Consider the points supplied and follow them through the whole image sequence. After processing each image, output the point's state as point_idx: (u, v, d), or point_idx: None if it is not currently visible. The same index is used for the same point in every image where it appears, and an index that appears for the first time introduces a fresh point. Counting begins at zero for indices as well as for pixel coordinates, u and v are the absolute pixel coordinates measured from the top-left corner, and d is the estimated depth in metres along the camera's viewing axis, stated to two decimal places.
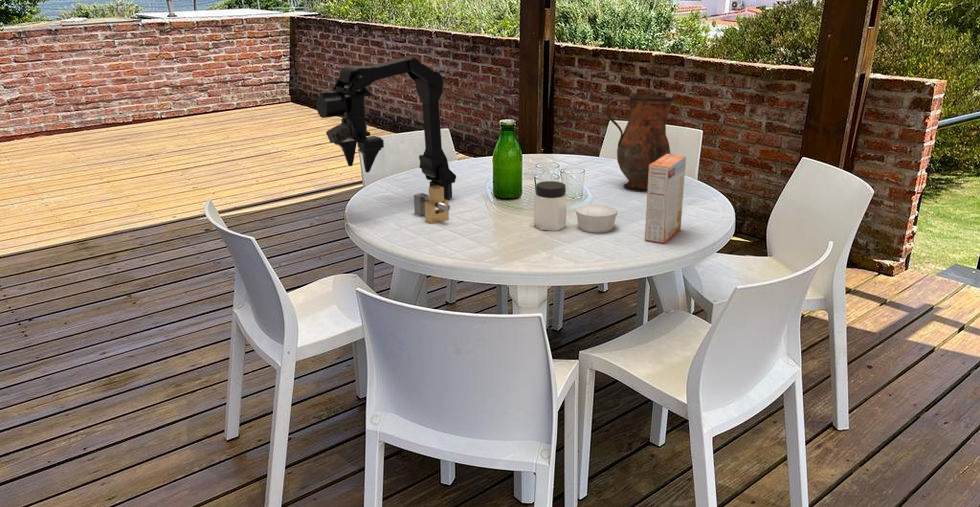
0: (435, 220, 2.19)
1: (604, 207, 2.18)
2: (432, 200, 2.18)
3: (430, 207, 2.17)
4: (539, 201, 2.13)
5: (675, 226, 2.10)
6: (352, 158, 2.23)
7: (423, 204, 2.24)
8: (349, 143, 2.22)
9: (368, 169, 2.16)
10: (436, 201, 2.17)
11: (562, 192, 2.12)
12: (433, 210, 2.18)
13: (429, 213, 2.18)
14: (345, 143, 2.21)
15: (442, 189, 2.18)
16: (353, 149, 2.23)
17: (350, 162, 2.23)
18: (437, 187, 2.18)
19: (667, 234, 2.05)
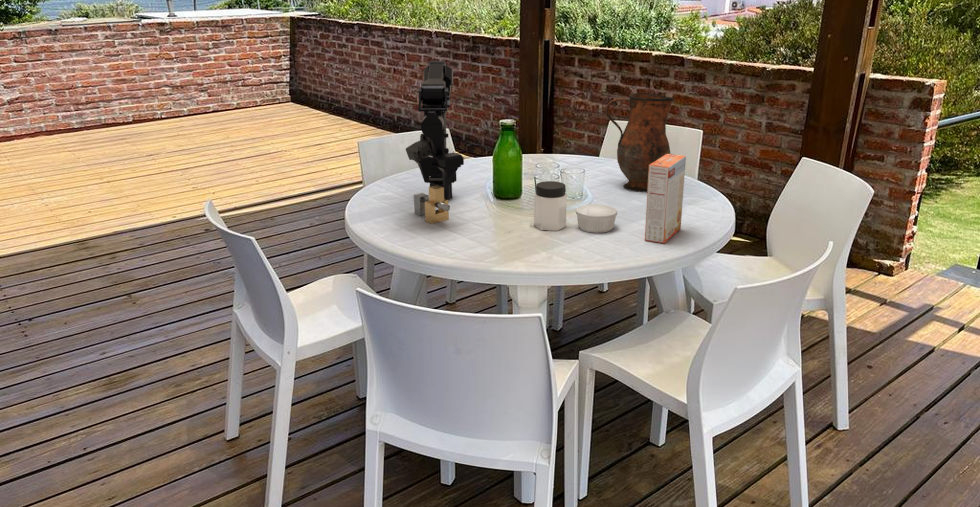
0: (435, 220, 2.19)
1: (604, 207, 2.18)
2: (432, 200, 2.18)
3: (430, 207, 2.17)
4: (539, 201, 2.13)
5: (675, 226, 2.10)
6: (428, 174, 2.21)
7: (423, 204, 2.24)
8: (425, 159, 2.19)
9: (447, 186, 2.14)
10: (436, 201, 2.17)
11: (562, 192, 2.12)
12: (433, 210, 2.18)
13: (429, 213, 2.18)
14: (422, 159, 2.19)
15: (442, 189, 2.18)
16: (429, 165, 2.21)
17: (426, 178, 2.21)
18: (437, 187, 2.18)
19: (667, 234, 2.05)
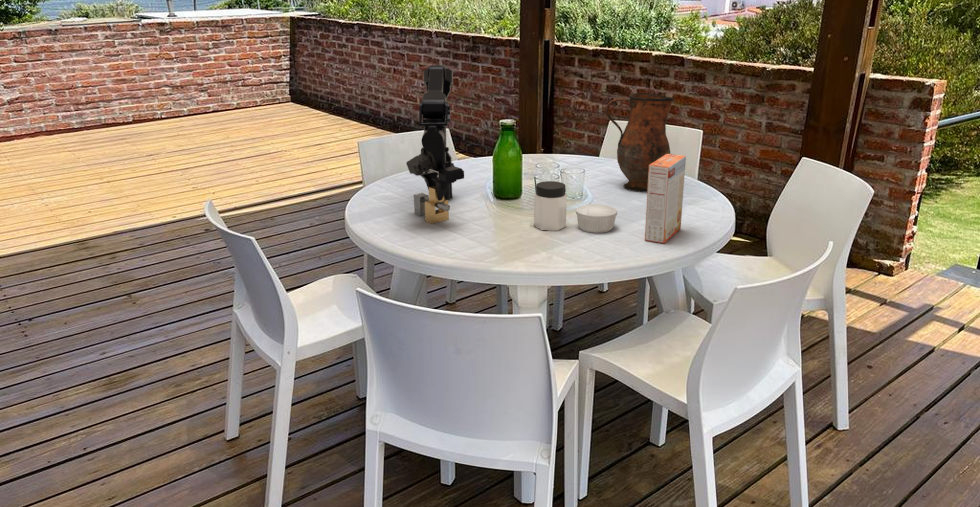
0: (435, 220, 2.19)
1: (604, 207, 2.18)
2: (432, 200, 2.18)
3: (430, 207, 2.17)
4: (539, 201, 2.13)
5: (675, 226, 2.10)
6: None
7: (423, 204, 2.24)
8: (432, 174, 2.19)
9: (441, 197, 2.17)
10: (436, 201, 2.17)
11: (562, 192, 2.12)
12: (433, 210, 2.18)
13: (429, 213, 2.18)
14: (428, 175, 2.18)
15: None
16: None
17: None
18: None
19: (667, 234, 2.05)
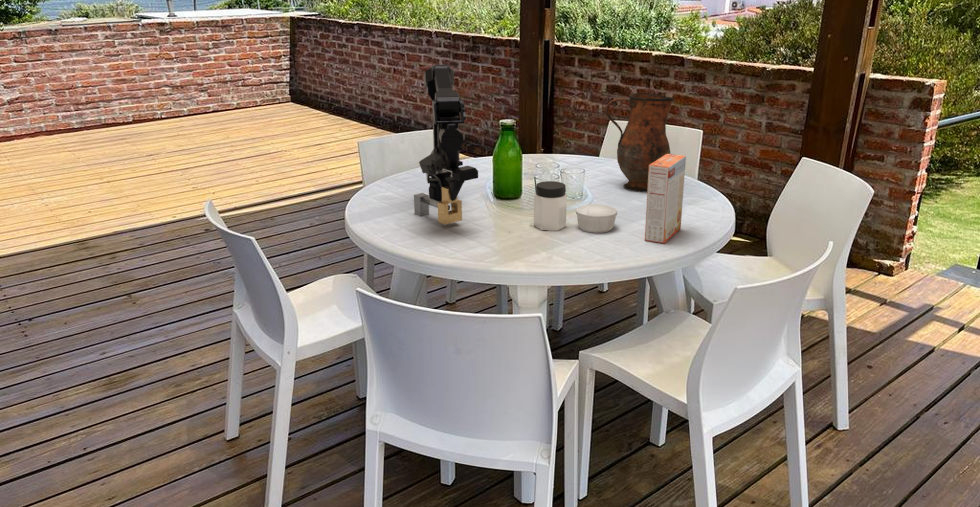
0: (448, 220, 2.14)
1: (604, 207, 2.18)
2: (445, 201, 2.13)
3: (443, 207, 2.12)
4: (539, 201, 2.13)
5: (675, 226, 2.10)
6: None
7: (423, 204, 2.24)
8: (445, 174, 2.14)
9: (454, 197, 2.12)
10: (449, 201, 2.12)
11: (562, 192, 2.12)
12: (446, 211, 2.13)
13: (442, 214, 2.13)
14: (441, 174, 2.13)
15: None
16: None
17: None
18: None
19: (667, 234, 2.05)
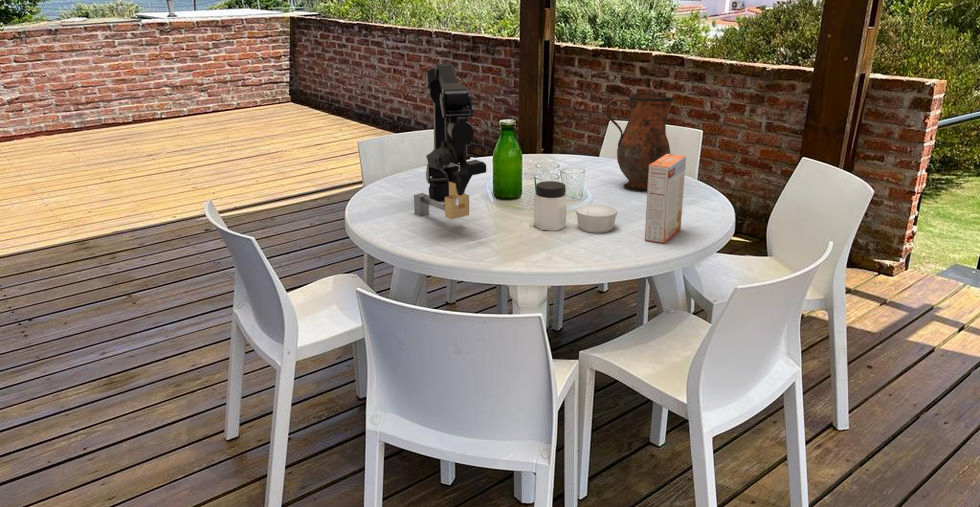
0: (455, 215, 2.11)
1: (604, 207, 2.18)
2: (453, 195, 2.10)
3: (451, 202, 2.09)
4: (539, 201, 2.13)
5: (675, 226, 2.10)
6: None
7: (423, 204, 2.24)
8: (452, 168, 2.11)
9: (462, 192, 2.09)
10: (457, 196, 2.09)
11: (562, 192, 2.12)
12: (453, 205, 2.10)
13: (449, 208, 2.10)
14: (449, 169, 2.10)
15: None
16: (456, 175, 2.12)
17: None
18: None
19: (667, 234, 2.05)
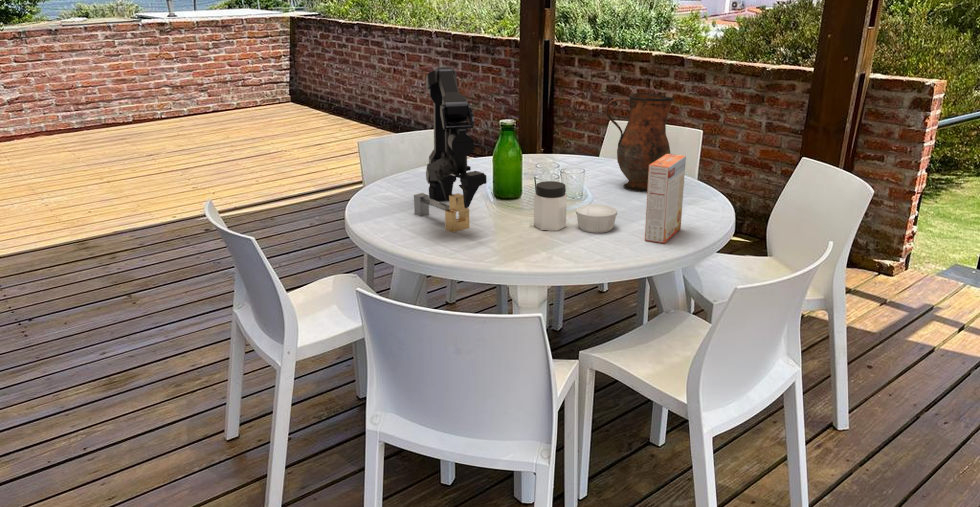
0: (456, 229, 2.12)
1: (604, 207, 2.18)
2: (453, 209, 2.11)
3: (451, 216, 2.10)
4: (539, 201, 2.13)
5: (675, 226, 2.10)
6: (450, 193, 2.15)
7: (423, 204, 2.24)
8: (447, 177, 2.13)
9: (467, 205, 2.09)
10: (457, 210, 2.11)
11: (562, 192, 2.12)
12: (454, 219, 2.11)
13: (449, 222, 2.11)
14: (443, 178, 2.13)
15: None
16: (451, 183, 2.14)
17: (448, 197, 2.14)
18: (458, 195, 2.11)
19: (667, 234, 2.05)
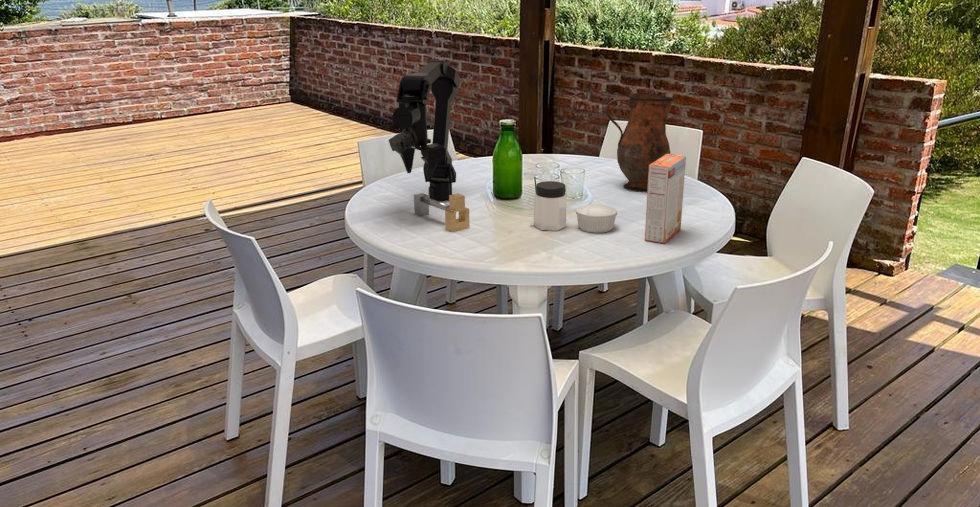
0: (456, 229, 2.12)
1: (604, 207, 2.18)
2: (453, 209, 2.11)
3: (451, 216, 2.10)
4: (539, 201, 2.13)
5: (675, 226, 2.10)
6: (411, 165, 2.24)
7: (423, 204, 2.24)
8: (408, 150, 2.23)
9: (430, 176, 2.17)
10: (457, 210, 2.11)
11: (562, 192, 2.12)
12: (454, 219, 2.11)
13: (449, 222, 2.11)
14: (404, 150, 2.22)
15: (463, 197, 2.11)
16: (412, 156, 2.24)
17: (409, 169, 2.24)
18: (458, 195, 2.11)
19: (667, 234, 2.05)
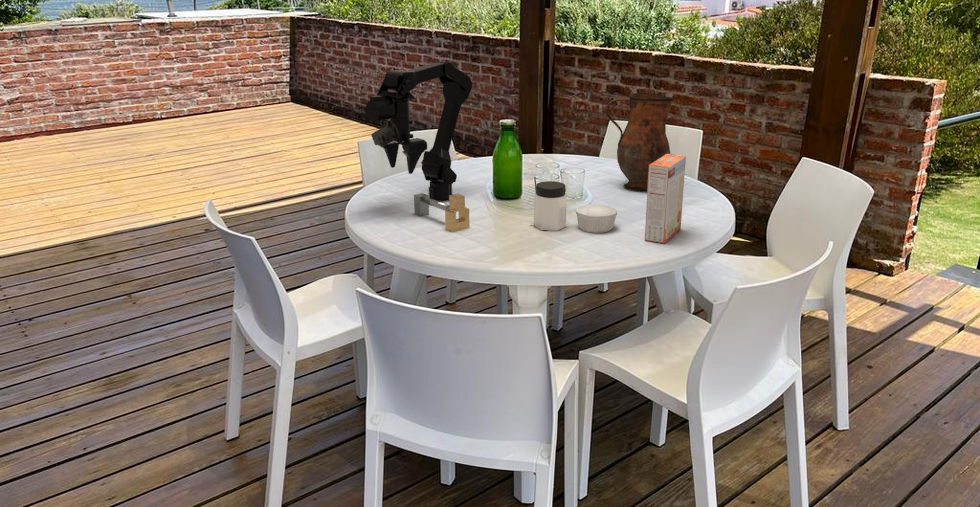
0: (456, 229, 2.12)
1: (604, 207, 2.18)
2: (453, 209, 2.11)
3: (451, 216, 2.10)
4: (539, 201, 2.13)
5: (675, 226, 2.10)
6: (394, 160, 2.29)
7: (423, 204, 2.24)
8: (392, 145, 2.28)
9: (411, 170, 2.22)
10: (457, 210, 2.11)
11: (562, 192, 2.12)
12: (454, 219, 2.11)
13: (449, 222, 2.11)
14: (388, 145, 2.27)
15: (463, 197, 2.11)
16: (395, 151, 2.29)
17: (392, 164, 2.29)
18: (458, 195, 2.11)
19: (667, 234, 2.05)
